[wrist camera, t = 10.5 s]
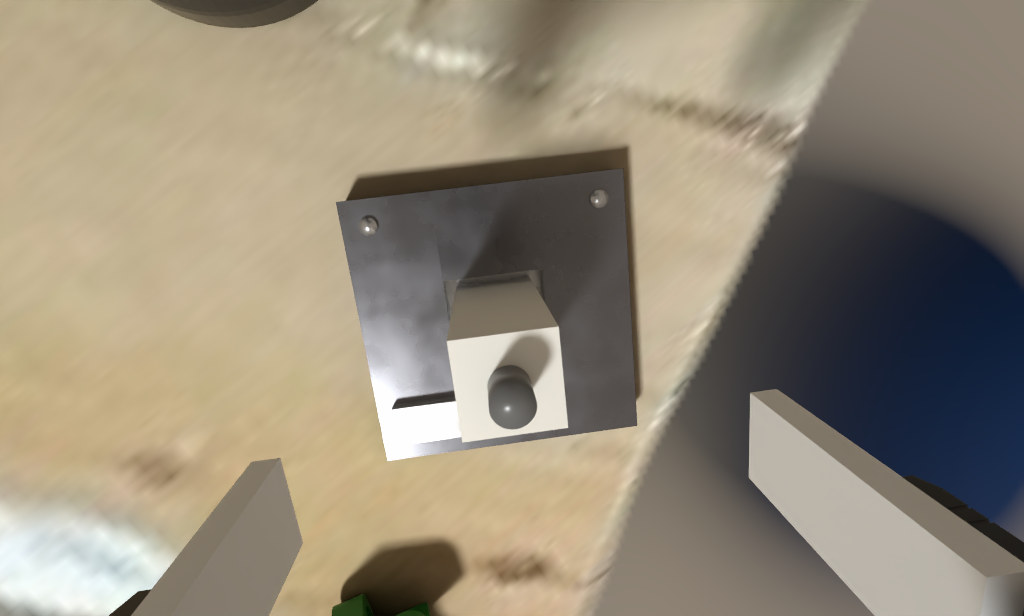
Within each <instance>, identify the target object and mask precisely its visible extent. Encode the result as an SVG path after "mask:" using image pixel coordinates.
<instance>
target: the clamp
mask: <svg viewBox="0 0 1024 616" xmlns="http://www.w3.org/2000/svg"><path fill="white" fill-rule="evenodd" d="M332 616H374V615H373V613H372V610H371V608H370V605H369V603H368V600H367V597H366V595H365V594H364V593H363V594H361V595H359V596H357V597H354V598H352V599H350V600H347V601H345V602H343V603H341V604H338V605H336V606H334V607H333V609H332ZM396 616H431V615H430V610H429V607H428V604H427V602H426V603H422V604H419V605H417V606H415V607H413V608H411V609H409V610H406V611H404V612H402V613H400V614H398V615H396Z"/></svg>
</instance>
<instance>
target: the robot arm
mask: <svg viewBox="0 0 1024 616" xmlns="http://www.w3.org/2000/svg"><path fill="white" fill-rule="evenodd" d="M151 1H153V2H154V3H156V4H158V5H159V6H161V7H163V8H165V9H167V10H169V11H171V12H173V13H175V14H177V15H180V16H182V17H185V18H188V19H191V20H194V21H196V22H200V23H204V24H208V25H214V26H220V27H230V28H246V27H257V26H263V25H268V24H272V23H276V22H279V21H282V20H285V19H287V18H289V17H292V16H294V15H296V14H298V13H300V12H301V11H303V10H305V9H306V8H308V7H309V6H311V5H312V4H314V3H315V2H316V1H318V0H151ZM749 478H750V479H751V480H752V482H753V483H754V484H755V485H756V486H757V487H758V488H759V489H760V490H761V491H762V493H763V494H764V495H765V496H766V497H767V498H768V499H769V500H770V501H771V502H772V503H773V505H774V506H775V507H776V508H777V509H778V510H779V511H780V512H781V513H782V514H783V515H784V516H785V518H786V519H787V520H788V521H789V522H790V523H791V524H792V525H793V526H794V528H795V529H796V530H797V531H798V532H799V533H800V534H801V535H802V536H803V537H804V538H805V540H806V541H807V542H808V543H809V544H810V545H811V546H812V547H813V548H814V549H815V551H816V552H817V553H818V554H819V555H820V556H821V557H822V558H823V559H824V560H825V562H826V563H827V564H828V565H829V566H830V567H831V568H832V569H833V570H834V571H835V572H836V574H837V575H838V576H839V577H840V578H841V579H842V580H843V581H844V582H845V583H846V585H847V586H848V587H849V588H850V589H851V590H852V591H853V592H854V593H855V594H856V595H857V597H858V598H859V599H860V600H861V601H862V602H863V603H864V604H865V605H866V606H867V608H868V609H869V610H870V611H871V612H872V613H873V614H874V615H875V616H1024V542H1022V541H1021V540H1019V539H1018V538H1016V537H1014V536H1013V535H1012V534H1010V533H1009V532H1007V531H1006V530H1004V529H1003V528H1001V527H1000V526H998V525H997V524H995V523H990V522H989V520H988V518H986V517H985V516H983V515H982V514H980V513H979V512H977V511H976V510H974V509H973V508H971V509H969V508H968V507H967V504H965V503H964V502H962V501H961V500H959V499H958V498H956V497H955V496H953V495H951V494H950V493H949V492H947V491H946V490H944V489H943V488H940V487H938V486H936V485H933V484H931V483H929V482H926V481H924V480H921V479H919V478H917V477H914V476H905V477H901V476H899V475H898V474H897V473H895V472H894V471H892V470H891V469H890V468H888V467H887V466H885V465H884V464H882V463H881V462H880V461H878V460H877V459H875V458H874V457H873V456H871V455H870V454H868V453H867V452H865V451H864V450H863V449H861V448H860V447H858V446H857V445H855V444H854V443H852V442H851V441H850V440H848V439H847V438H845V437H844V436H842V435H841V434H840V433H838V432H837V431H835V430H834V429H832V428H831V427H830V426H828V425H827V424H825V423H824V422H823V421H821V420H820V419H818V418H817V417H816V416H814V415H813V414H811V413H810V412H808V411H807V410H806V409H804V408H803V407H801V406H800V405H798V404H797V403H796V402H794V401H793V400H791V399H790V398H788V397H787V396H786V395H784V394H783V393H781V392H780V391H778V390H777V389H775V390H767V391H760V392H753V393H750V445H749ZM302 544H303V541H302V537H301V533H300V530H299V526H298V522H297V519H296V515H295V511H294V507H293V504H292V500H291V496H290V493H289V489H288V485H287V481H286V478H285V474H284V470H283V467H282V463H281V459H280V458H277V459H270V460H262V461H255V462H251V463H250V465H249V466H248V467H247V468H246V470H245V471H244V472H243V474H242V475H241V476H240V477H239V479H238V480H237V481H236V482H235V484H234V485H233V486H232V488H231V489H230V490H229V491H228V493H227V494H226V495H225V497H224V498H223V499H222V500H221V502H220V503H219V504H218V505H217V507H216V508H215V509H214V511H213V512H212V513H211V514H210V516H209V517H208V518H207V519H206V521H205V522H204V523H203V525H202V526H201V527H200V528H199V530H198V531H197V532H196V534H195V535H194V536H193V537H192V539H191V540H190V541H189V542H188V544H187V545H186V546H185V548H184V549H183V550H182V551H181V553H180V554H179V555H178V556H177V558H176V559H175V560H174V562H173V563H172V564H171V565H170V567H169V568H168V569H167V571H166V572H165V573H164V574H163V576H162V577H161V578H160V579H159V581H158V582H157V583H156V585H155V586H154V587H153V588H152V589H151V590H144V591H138V592H137V593H136V594H135V595H133V596H132V597H131V598H130V599H129V600H127V601H126V602H125V603H124V604H122V605H121V606H120V607H119V608H117V609H116V610H115V611H114V612H113V613H111V614H110V615H109V616H269V614H270V612H271V610H272V608H273V605H274V603H275V601H276V599H277V597H278V595H279V593H280V591H281V588H282V586H283V584H284V582H285V580H286V578H287V576H288V574H289V571H290V569H291V567H292V565H293V563H294V561H295V559H296V557H297V554H298V552H299V550H300V548H301V546H302Z"/></svg>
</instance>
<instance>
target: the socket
mask: <svg viewBox="0 0 1024 616" xmlns="http://www.w3.org/2000/svg"><path fill="white" fill-rule="evenodd" d="M336 205H337V210H338V215H339V220H340V225H341V230H342V235H343V240H344V245H345V250H346V255H347V260H348V265H349V270H350V275H351V280H352V285H353V290H354V295H355V300H356V305H357V310H358V315H359V320H360V325H361V330H362V335H363V340H364V345H365V350H366V355H367V360H368V365H369V370H370V375H371V380H372V385H373V390H374V395H375V400H376V405H377V410H378V415H379V420H380V425H381V430H382V435H383V440H384V445H385V450H386V455H387V460H388V461H390V460H397V459H404V458H411V457H418V456H425V455H432V454H440V453H447V452H454V451H461V450H468V449H475V448H482V447H489V446H496V445H504V444H511V443H518V442H525V441H532V440H539V439H546V438H553V437H560V436H567V435H575V434H582V433H589V432H596V431H603V430H610V429H617V428H624V427H631V426H637V413H636V394H635V376H634V358H633V340H632V321H631V303H630V285H629V267H628V248H627V230H626V212H625V194H624V175H623V168H622V169H613V170H604V171H596V172H587V173H579V174H570V175H562V176H553V177H545V178H536V179H528V180H519V181H511V182H502V183H494V184H485V185H477V186H468V187H460V188H451V189H443V190H434V191H426V192H417V193H409V194H400V195H392V196H384V197H375V198H367V199H358V200H350V201H341V202H336ZM522 277H530V279H531V280H532V282H533V284H534V285H535V287H536V289H537V290H538V292H539V294H540V296H541V297H542V299H543V301H544V302H545V304H546V306H547V307H548V309H549V311H550V313H551V314H552V316H553V318H554V319H555V321H556V323H557V324H558V326H559V335H560V345H561V356H562V367H563V377H564V388H565V399H566V409H567V420H568V428H563V429H556V430H549V431H542V432H535V433H528V434H520V435H513V436H506V437H499V438H492V439H485V440H478V441H470V442H463V443H462V437H461V431H460V424H459V418H458V411H457V405H456V399H455V392H454V386H453V379H452V373H451V366H450V360H449V354H448V347H447V336H448V331H449V325H450V320H451V314H452V309H453V303H454V298H455V292H456V286H459V285H467V284H475V283H483V282H491V281H498V280H506V279H514V278H522Z"/></svg>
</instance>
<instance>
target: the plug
mask: <svg viewBox="0 0 1024 616" xmlns="http://www.w3.org/2000/svg"><path fill="white" fill-rule="evenodd" d="M447 347H448V354H449V360H450V366H451V373H452V379H453V386H454V392H455V399H456V405H457V411H458V418H459V424H460V431H461V437H462V443H463V442H470V441H478V440H485V439H492V438H499V437H506V436H513V435H520V434H528V433H535V432H542V431H549V430H556V429H563V428H568V420H567V409H566V399H565V388H564V377H563V367H562V356H561V345H560V335H559V326H558V324H557V323H556V321H555V319H554V318H553V316H552V314H551V313H550V311H549V309H548V307H547V306H546V304H545V302H544V301H543V299H542V297H541V296H540V294H539V292H538V290H537V289H536V287H535V285H534V284H533V282H532V280H531V279H530V277H522V278H514V279H506V280H498V281H491V282H483V283H475V284H467V285H459V286H456V292H455V298H454V303H453V309H452V314H451V320H450V325H449V331H448V336H447Z"/></svg>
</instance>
